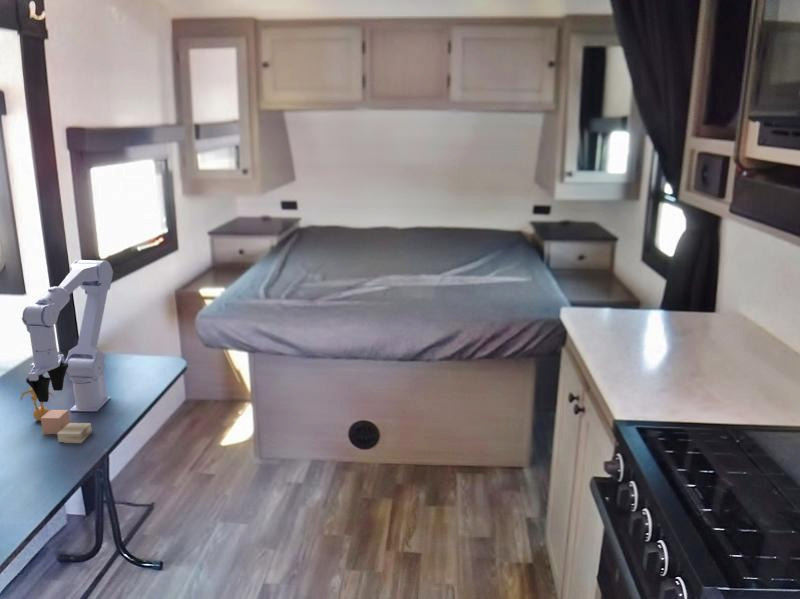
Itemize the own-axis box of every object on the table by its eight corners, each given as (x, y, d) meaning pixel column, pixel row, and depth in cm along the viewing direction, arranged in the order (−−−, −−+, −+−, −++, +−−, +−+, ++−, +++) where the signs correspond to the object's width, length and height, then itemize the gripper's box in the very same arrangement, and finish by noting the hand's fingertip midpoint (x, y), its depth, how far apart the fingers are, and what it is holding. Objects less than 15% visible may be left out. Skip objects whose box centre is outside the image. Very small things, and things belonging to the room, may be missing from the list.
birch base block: (70, 432, 173) (69, 422, 172) (92, 433, 173) (90, 423, 172) (58, 443, 168) (57, 433, 167) (81, 444, 167) (79, 433, 167)
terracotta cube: (52, 426, 176) (50, 409, 175) (70, 426, 177) (68, 409, 175) (43, 434, 172) (40, 418, 170) (61, 434, 172) (59, 418, 170)
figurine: (59, 414, 183) (53, 376, 179) (55, 424, 177) (49, 384, 174) (27, 418, 180) (20, 380, 177) (22, 428, 175) (15, 388, 171)
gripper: (43, 339, 174) (49, 385, 178) (13, 357, 160) (21, 406, 164) (69, 339, 174) (75, 385, 178) (41, 357, 160) (48, 406, 164)
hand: (51, 395), depth 171 cm, fingers open, 7 cm apart
